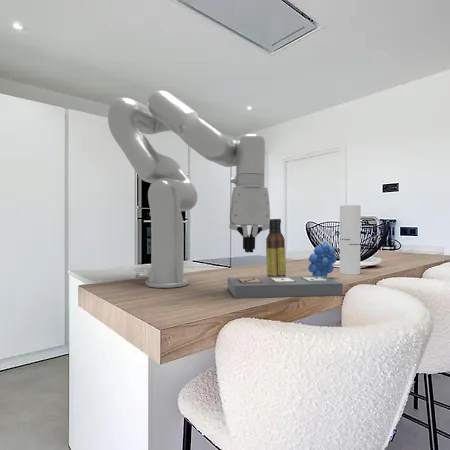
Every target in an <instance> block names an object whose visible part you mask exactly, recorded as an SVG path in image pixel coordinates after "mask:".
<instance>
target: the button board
mask: <svg viewBox="0 0 450 450" xmlns="http://www.w3.org/2000/svg"><path fill="white" fill-rule="evenodd" d="M303 277H320V278H323V279H325V280H327V281H326V282H308V281H305V280H303V279H302V278H303ZM256 278H257V279H258V280H260V281H261V283H240V282H239V279H256ZM271 278H290V279H292V280H294V281H295V282H281V283H275V282H273V281H272V280H271ZM343 285H344V284H343V282H340V281H337V280H334V279H331V278H330V277H328V276H327V277H324V276H312V275H304V276H301V275H300V276H297V275H296V276H288V275H287V276H286V277H267V276H251V277H250V276H249V277H248V276H247V277H246V276H245V277H242V276H241V277H240V276H239V277H238V276H237V277H227V289H228V291H229V292H230V294H231V293H232V294H231V295H232V297H234V299H254V298H258V297H260V298H288V296H295V297H320V296H321V297H325V296H327V297H328V296H343V295H344V294H343V293H344V292H343V291H344V290H343V289H344V287H343Z"/></svg>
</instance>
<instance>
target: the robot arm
mask: <svg viewBox="0 0 450 450" xmlns="http://www.w3.org/2000/svg"><path fill="white" fill-rule="evenodd" d="M107 112H108V113H107V124H108V128H109V132H110V134H111V135H112V137H113V139H114V140H115V142H116V143H117V146H118V147H120V149H121V151H122V152H123V153H124V155H125V157H126V159H127V160H128V162H129V163H130V165H131V166H132V168H133V169H134V171H135V173H136V174H137V176H138V177H139V178H140V180H142V181H144V182H147V183H149V184H150V186H149V188H148V191H147V200H148V205H149V211H150V229H151V230H150V231H151V237H150V238H151V241H150V242H151V243H150V244H151V245H150V250H151V252H150V254H151V256H150V257H151V259H150V261H151V263H150V265H151V266H150V269H147V271H143V270H138V271H135V278H136V279H146V280H145V285H146V286H147V287H149V288H156V289H157V288H159V289H160V288H161V289H165V288H167V289H170V288H179V287H184V286H187V285H188V284H189V282H190V281H189V280H190V279H188V278H186V277H184V272H185V271H184V263H185V262H184V261H185V259H184V255H185V254H184V251H185V249H184V248H185V247H184V246H185V245H184V241H185V238H184V237H185V234H184V233H185V232H184V229H185V228H184V227H185V226H184V219H183V215H182V212H188V211H190V210H192V209H193V208H194V207H195V206H196V204H197V202H198V192H197V189H196V188H195V186H194V184H193V182H192V181H191V179H190V178H189V177H188V175H187V173H185V171H184V169H183V168H182V167H181V165H180V164H179V163H178V161H176V160H175V159H173V158H171V157H170V156H167V155H163V154H162V153H160V152H157V150H156V149H155V148H154V147H153V145H152V144H151V143H150V141H149V139H148V138H147V137H146V136H145V135H156V134H159V133H165V132H167V131H168V132H169V131H172V132H173V133H174V134H175V135H176V136H178V137H180V139H181V140H182V141H183V142H184V143H185V145H187V146H189V147H190V148H191V149H192V150H194V151H195V152H196V153H198V154H199V155H201V156H202V157H203V158H204V159H206V160H207V161H210V162H212V163H215V164H217V165H219V166H222V167H227V168H231V167H235V176H234V177H230V183H231V184H232V183H233V184H234V185H235V186H234V187H233V188H232V193H231V200H230V210H229V225H228V228H229V229H230V230H233V231H236V232H238V233H239V234H240V236H242V249H243V250H244V252H245V253H250V254H251V253H254V250H255V249H256V238H257V236H258V235H259V234H260V233H261V232H262V231H263V232H264V231H267V230H268V231H269V223H270V219H271V208H270V196H269V190H268V187H265V165H266V163H265V161H266V160H265V159H266V156H265V155H266V154H265V153H266V141H265V138H264V136H262V135H260V134H257V133H245V134H241V135H240V136H238V137H237V139H236V140H235V139H232V138H231V137H228V136H227V135H225V134H223V133H222V132H220V131H219V130H218V129H216V128H214V127H213V126H212V125H210V124H208V123H207V122H206V121H205V120H203V119H202V118H201V117H200V113H198V112H197V111H196V110H195V109H193V108H192V107H190V106H189V105H187V104H186V103H185V102H184V101H183V100H182V99H181V98H178V97H177V96H175V95H174V94H172V93H171V92H169V91H167V90H162V89H158V90H155V91H153V92H152V93H150V95H149V96H148V98H147V105H145V104H143V103H141V102H140V101H137V100H135V99H133V98H130V97H125V96H123V97H122V96H120V97H117V98H115V99H114V100H113V101H112V102H111V104H110V105H109V108H108V111H107ZM248 226H251V228H250V232H249V233H250V234H249V233H248V231H249V230H248Z"/></svg>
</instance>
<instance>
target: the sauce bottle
mask: <svg viewBox="0 0 450 450" xmlns="http://www.w3.org/2000/svg"><path fill="white" fill-rule="evenodd" d="M281 224H282V219H281V218H270V223H269V229H268V235H267V237H266V238H265V244H266V247H265V251H266V252H265V253H266V277H287V276H286V274H287V266H286V265H287V261H286V260H287V259H286V258H287V257H286V246H285V237H284V235H283V233H282V230H281Z"/></svg>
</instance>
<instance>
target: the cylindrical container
mask: <svg viewBox="0 0 450 450" xmlns="http://www.w3.org/2000/svg"><path fill="white" fill-rule="evenodd" d="M361 211H362V209H361V205H357V204H356V205H354V204H353V205H351V204H349V205H347V204H346V205H339V274H342V275H348V276H354V275H355V276H357V275H361V219H362V218H361V214H362V213H361Z"/></svg>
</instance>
